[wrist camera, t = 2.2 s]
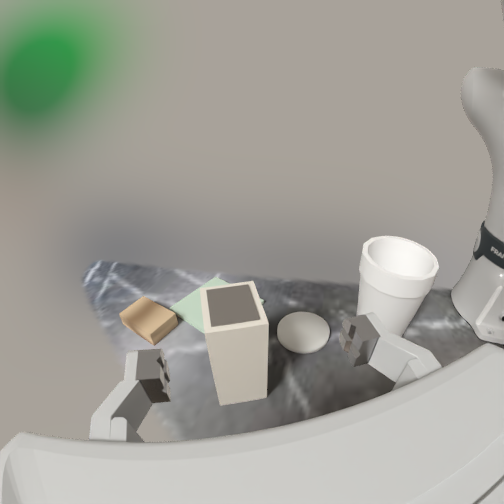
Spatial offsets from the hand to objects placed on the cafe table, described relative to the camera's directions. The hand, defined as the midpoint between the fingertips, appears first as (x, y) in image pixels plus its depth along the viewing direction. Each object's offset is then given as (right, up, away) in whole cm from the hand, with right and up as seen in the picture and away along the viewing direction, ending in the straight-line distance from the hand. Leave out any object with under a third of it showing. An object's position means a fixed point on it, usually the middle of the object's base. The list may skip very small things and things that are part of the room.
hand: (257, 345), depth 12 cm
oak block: (-15, -7, +27) cm, 32 cm away
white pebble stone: (+7, -7, +26) cm, 28 cm away
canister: (-2, -11, +19) cm, 22 cm away
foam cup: (+17, -8, +24) cm, 30 cm away
